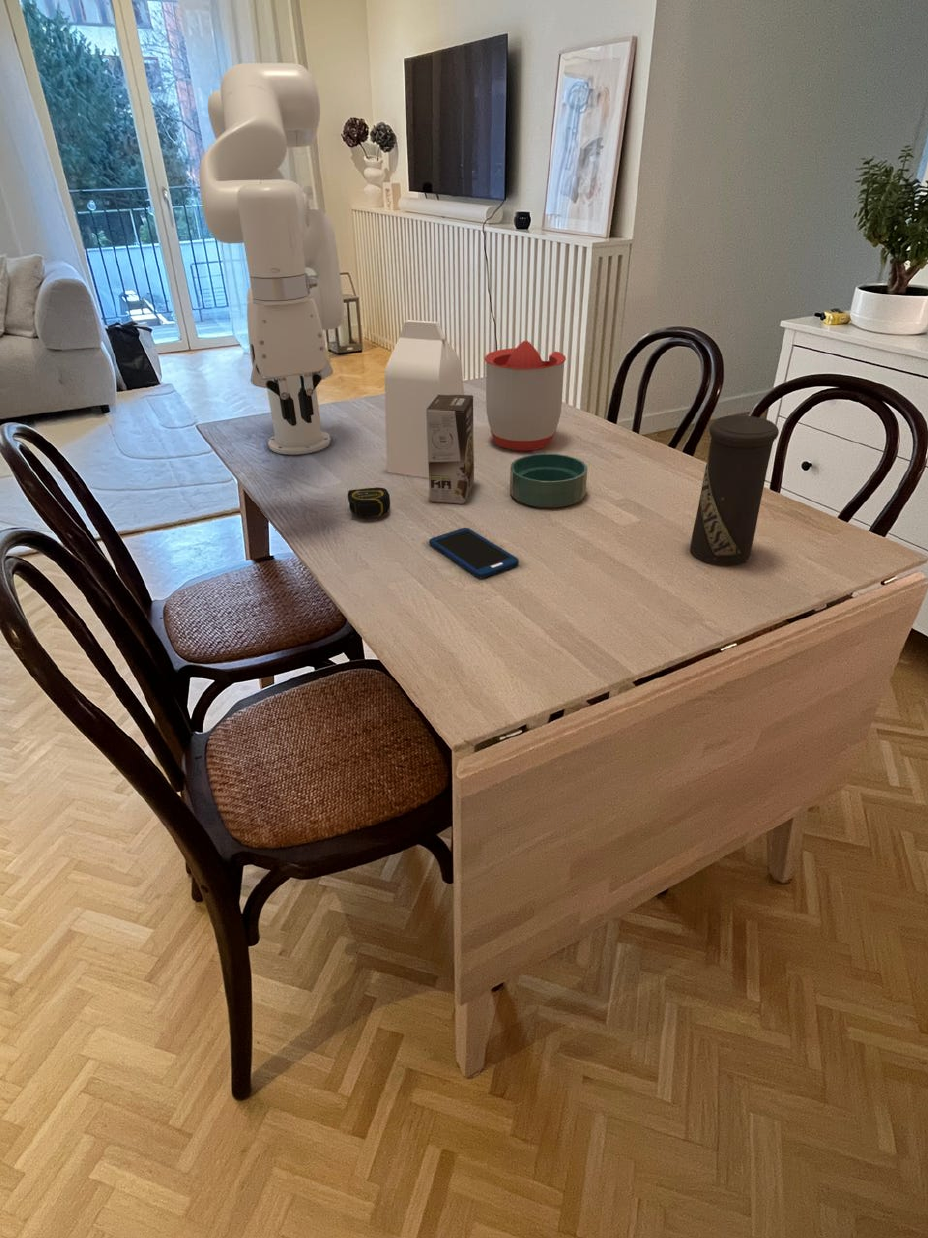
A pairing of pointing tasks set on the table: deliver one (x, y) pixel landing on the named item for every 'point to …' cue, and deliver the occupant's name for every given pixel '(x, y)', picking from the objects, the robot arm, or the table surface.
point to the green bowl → (548, 480)
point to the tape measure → (369, 502)
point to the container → (732, 489)
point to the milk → (416, 393)
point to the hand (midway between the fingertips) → (299, 421)
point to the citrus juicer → (523, 396)
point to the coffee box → (450, 448)
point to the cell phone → (473, 552)
